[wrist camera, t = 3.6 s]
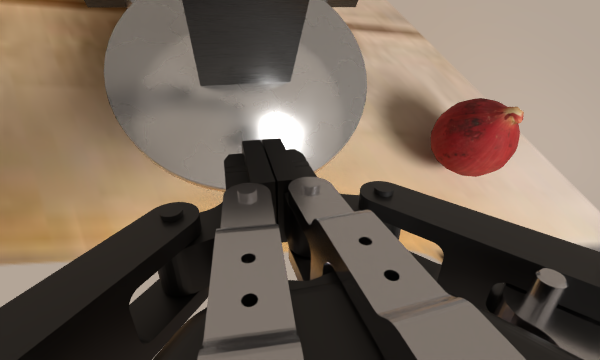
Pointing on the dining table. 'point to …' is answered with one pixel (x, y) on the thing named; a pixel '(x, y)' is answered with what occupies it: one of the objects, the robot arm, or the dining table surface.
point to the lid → (233, 81)
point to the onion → (476, 136)
